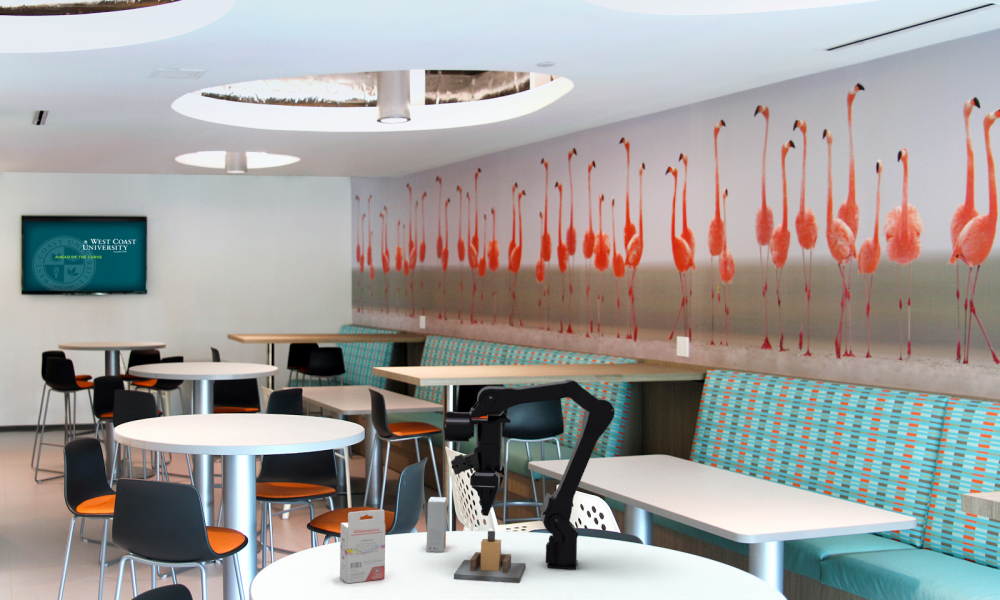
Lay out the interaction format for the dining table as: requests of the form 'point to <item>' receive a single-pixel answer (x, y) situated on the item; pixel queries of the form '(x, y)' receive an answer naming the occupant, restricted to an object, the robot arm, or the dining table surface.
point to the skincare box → (436, 524)
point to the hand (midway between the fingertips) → (487, 511)
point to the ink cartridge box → (363, 547)
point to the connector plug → (491, 553)
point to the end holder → (505, 574)
